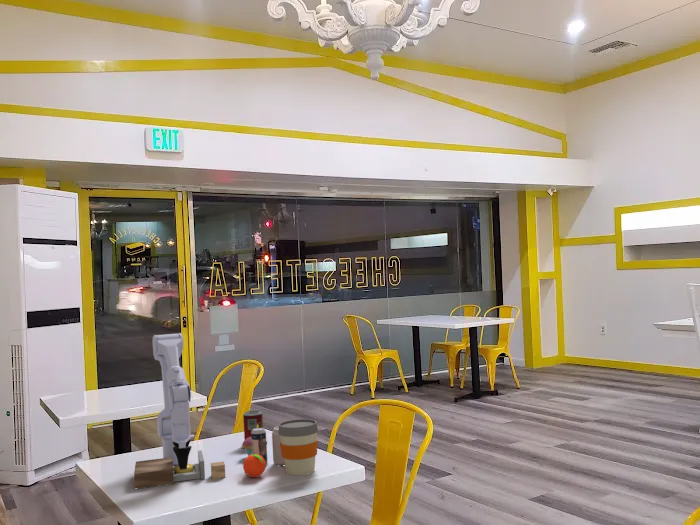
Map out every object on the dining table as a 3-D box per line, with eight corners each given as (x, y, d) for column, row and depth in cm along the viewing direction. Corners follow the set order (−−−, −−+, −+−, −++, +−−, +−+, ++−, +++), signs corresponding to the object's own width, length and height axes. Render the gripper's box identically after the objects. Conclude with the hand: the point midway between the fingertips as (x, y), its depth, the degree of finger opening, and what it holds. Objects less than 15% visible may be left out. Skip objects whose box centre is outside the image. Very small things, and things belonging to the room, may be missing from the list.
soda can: (265, 445, 244) (263, 412, 244) (245, 448, 242) (243, 414, 243) (262, 441, 251) (260, 409, 251) (243, 443, 249) (242, 411, 249)
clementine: (272, 476, 204) (271, 453, 205) (254, 482, 200) (253, 458, 200) (257, 472, 210) (256, 449, 210) (239, 477, 205) (238, 454, 205)
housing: (136, 475, 214) (135, 461, 214) (173, 470, 217) (172, 457, 217) (134, 488, 199) (133, 473, 199) (173, 483, 202) (173, 468, 203)
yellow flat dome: (174, 471, 213) (174, 465, 213) (192, 469, 214) (192, 462, 214) (173, 476, 207) (173, 469, 207) (192, 473, 208) (192, 467, 209)
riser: (211, 475, 209) (210, 462, 209) (224, 473, 210) (223, 461, 210) (212, 479, 205) (211, 466, 205) (225, 477, 206) (224, 464, 206)
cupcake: (272, 455, 230) (271, 420, 230) (256, 461, 223) (255, 425, 223) (253, 452, 235) (252, 418, 235) (237, 459, 227) (235, 424, 228)
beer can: (264, 468, 214) (262, 430, 215) (250, 468, 215) (248, 430, 216) (269, 463, 219) (267, 427, 219) (255, 463, 220) (254, 427, 220)
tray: (166, 471, 216) (165, 454, 216) (202, 466, 219) (201, 450, 219) (166, 483, 202) (165, 465, 203) (204, 478, 206) (204, 460, 206)
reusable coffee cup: (287, 479, 200) (284, 429, 201) (275, 469, 212) (272, 422, 212) (326, 472, 205) (323, 424, 206) (312, 463, 217) (309, 417, 217)
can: (269, 466, 216) (267, 429, 217) (280, 459, 223) (278, 424, 224) (289, 467, 214) (287, 430, 214) (300, 461, 220) (298, 424, 221)
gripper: (194, 426, 205) (196, 470, 205) (192, 417, 219) (194, 458, 219) (171, 428, 203) (173, 473, 203) (170, 419, 217) (172, 461, 217)
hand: (182, 465), depth 211 cm, fingers open, 7 cm apart
